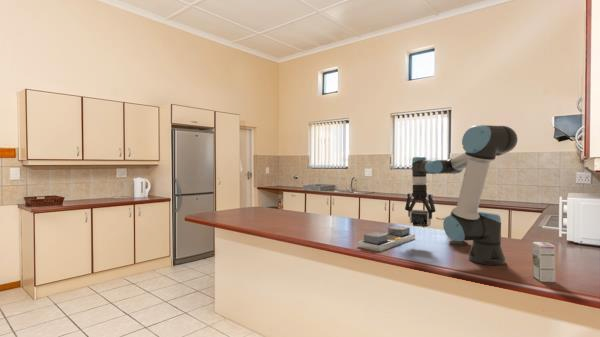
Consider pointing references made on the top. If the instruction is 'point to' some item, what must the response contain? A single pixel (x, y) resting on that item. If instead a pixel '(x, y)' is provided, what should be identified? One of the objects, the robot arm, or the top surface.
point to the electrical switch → (419, 218)
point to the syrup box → (544, 261)
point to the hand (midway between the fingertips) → (420, 223)
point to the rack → (386, 238)
